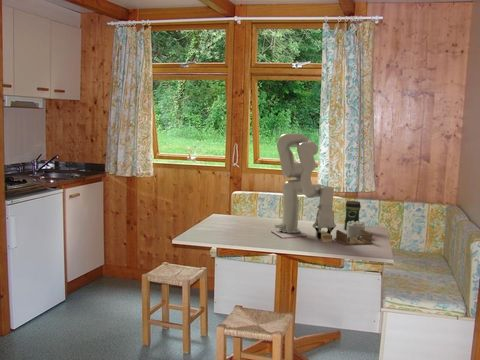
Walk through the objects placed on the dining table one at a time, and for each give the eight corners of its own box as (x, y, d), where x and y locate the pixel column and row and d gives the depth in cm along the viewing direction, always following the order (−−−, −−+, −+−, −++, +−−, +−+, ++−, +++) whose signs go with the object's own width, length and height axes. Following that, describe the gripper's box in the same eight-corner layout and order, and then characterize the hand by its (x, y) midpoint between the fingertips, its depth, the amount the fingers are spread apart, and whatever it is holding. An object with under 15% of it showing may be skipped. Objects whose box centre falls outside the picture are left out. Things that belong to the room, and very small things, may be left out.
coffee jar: (359, 229, 321) (361, 200, 319) (358, 231, 314) (360, 202, 311) (344, 227, 324) (346, 199, 322) (343, 230, 316) (345, 201, 314)
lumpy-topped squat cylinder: (347, 237, 297) (348, 223, 296) (344, 232, 309) (346, 218, 308) (365, 238, 296) (366, 224, 295) (361, 233, 309) (363, 220, 307)
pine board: (331, 242, 283) (332, 235, 283) (323, 242, 282) (324, 235, 282) (323, 237, 295) (323, 230, 294) (315, 237, 294) (315, 230, 293)
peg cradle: (344, 245, 277) (345, 234, 276) (334, 239, 288) (335, 229, 288) (372, 244, 283) (373, 233, 282) (361, 239, 294) (362, 229, 293)
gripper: (315, 209, 280) (313, 240, 282) (342, 208, 285) (339, 239, 287) (309, 206, 287) (307, 237, 289) (335, 206, 292) (333, 236, 295)
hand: (323, 238), depth 288 cm, fingers closed on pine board, 5 cm apart
